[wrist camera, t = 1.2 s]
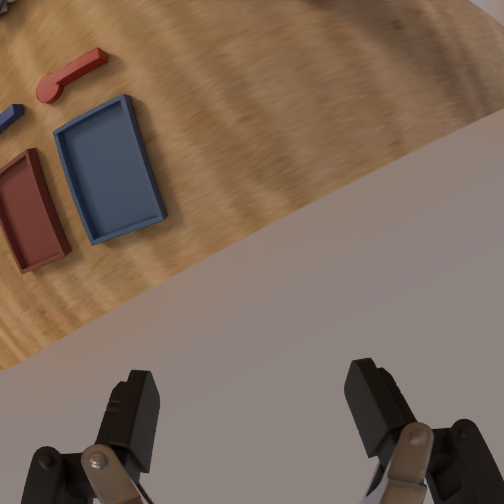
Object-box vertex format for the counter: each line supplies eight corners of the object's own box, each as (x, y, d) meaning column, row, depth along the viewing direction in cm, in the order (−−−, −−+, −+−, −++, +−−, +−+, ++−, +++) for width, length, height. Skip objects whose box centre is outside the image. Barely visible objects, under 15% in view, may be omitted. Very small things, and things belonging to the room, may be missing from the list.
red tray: (-6, 178, 27) (-14, 181, 26) (35, 147, 27) (26, 149, 25) (28, 268, 33) (21, 274, 31) (71, 250, 33) (65, 256, 31)
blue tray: (60, 131, 27) (52, 131, 25) (129, 95, 26) (123, 93, 25) (98, 240, 33) (91, 246, 31) (167, 215, 32) (164, 220, 30)
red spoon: (43, 108, 25) (33, 108, 23) (38, 84, 24) (28, 82, 21) (109, 69, 25) (101, 66, 23) (104, 44, 23) (96, 39, 21)
